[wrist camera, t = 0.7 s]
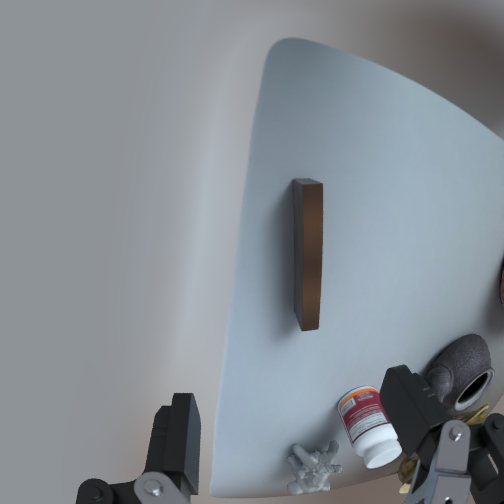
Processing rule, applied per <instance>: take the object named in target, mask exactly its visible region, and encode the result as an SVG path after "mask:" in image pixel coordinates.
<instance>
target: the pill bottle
mask: <svg viewBox="0 0 504 504" xmlns="http://www.w3.org/2000/svg"><path fill="white" fill-rule="evenodd" d="M338 411H339V414H340V417H341V419H342V422H343V424H344V427H345V429H346V432H347V434H348V437H349V440H350V442H351V445H352V447H353V450H354V452H355V453H356V454H357V455H359V456H362V457H364V462H365V464H366V467H367V468H377V467H380V466H383V465H385V464H387V463H389V462H391V461H392V460H394V459H395V458H396V457H398V456H399V455H400V453H401V452H402V449H401V446H400V444H399V442H398V441H397V438H398V436H397V434H396V432H395V430H394V429H393V427H392V425H391V423H390V421H389V419H388V417H387V415H386V413H385V411H384V409H383V407H382V405H381V403H380V399H379V393H378V391H377V390H376V389H375V388H374V387H371V386H363V387H359V388H356V389H354V390H352V391H350V392H349V393H347V394H346V395H345V396H344V397H343V398H342V399H341V400H340V402H339V405H338Z"/></svg>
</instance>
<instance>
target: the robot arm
mask: <svg viewBox="0 0 504 504" xmlns="http://www.w3.org/2000/svg"><path fill="white" fill-rule="evenodd" d="M379 399H380V403H381V405H382V407H383V409H384V411H385V413H386V415H387V417H388V419H389V421H390V423H391V425H392V427H393V429H394V430H395V432H396V434H397V436H398V438H399V440H400V442H401V444H402V446H403V448H404V450H405V453H406V455H407V457H408V459H410V458H412V457H415V456H418V458H419V460H418V462H417V466H416V469H415V472H414V476H413V479H412V482H411V485H410V488H409V491H408V494H407V497H406V499H405V500H404V502H403V503H402V504H467V500H468V495H469V490H470V492H471V494H472V496H473V498H474V501H475V503H476V504H504V416H503V415H501V414H499V413H493V414H490V415H489V416H488V417H487V418H486V420H485V421H484V422H483V423H478V424H472V425H467V424H466V423H465V422H463V421H460V420H453V419H452V418H451V416H450V415H449V413H448V412H447V410H446V409H445V408H444V406H443V405H442V403H441V402H440V400H439V399H438V397H437V396H436V395H435V393H434V392H433V390H432V389H430V386H429V385H428V383H427V382H426V380H425V379H424V378H422V377H421V376H420V375H418V374H417V373H413V374H412V373H411V371H410V370H409V368H408V367H407V366H406V365H404V364H403V365H399V366H396V367H392V368H389V369H387V371H386V374H385V377H384V380H383V383H382V386H381V389H380V393H379ZM200 435H201V422H200V415H199V412H198V408H197V405H196V401H195V397H194V394H193V393H174V395H173V399H172V405H171V406H161V408H160V409H159V411H158V412H157V413H156V415H155V419H154V423H153V428H152V433H151V438H150V444H149V449H148V455H147V460H146V466H145V470H144V472H143V473H142V475H141V476H139V477H138V478H137V479H135V480H134V481H131V482H126V483H118V484H110V485H108V484H107V483H106V482H105V481H103V480H100V479H88V480H86V481H84V482H83V483H82V484H81V485H80V487H79V489H78V495H77V500H76V504H191V503H190V496H191V495H198V483H199V456H200ZM489 453H490V455H491V457H492V459H493V461H494V462H495V464H496V466H497V468H498V475H497V473H496V471H495V469H494V467H493V465H492V463H491V461H490V459H489V457H488V454H489Z"/></svg>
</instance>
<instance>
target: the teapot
mask: <svg viewBox="0 0 504 504" xmlns="http://www.w3.org/2000/svg"><path fill="white" fill-rule="evenodd" d="M493 378H494V369H493V368H491V359H490V353H489V349H488V346H487V344H486V342H485V340H484V339H483V338H482V337H481V336H479V335H477V334H469V335H466V336H463V337H461V338H460V339H458V340H456V341H455V342H454V343H452V344H451V345H450V346H449V347H448V348H446V350H445V351H444V352H443V353H442V354H441V355H440V356H439V357H438V358H437V360H436V361H435V363H434V364H433V365H432V367H431V369H430V370H429V372H428V374H427V376H426V378H425V380H426V382H427V383H428V385H429V386H430V389H432V390H433V392H434V393H435V395H436V396H437V397H438V399H439V400H440V402H441V403H442V405H443V406H444V408H445V409H446V410H447V412H448V413H449V412H450V410H451V407H453V408H454V410H455V411H460V410H463V409H465V408H467V407H469V406H470V405H471V404H473V403H474V402H475V401H476V400H478V399H479V398H480V397H481V395H482V394H483V393H484V392H485V391H486V390H487V388H488V387H489V385H490V384H491V382H492V380H493Z"/></svg>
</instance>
